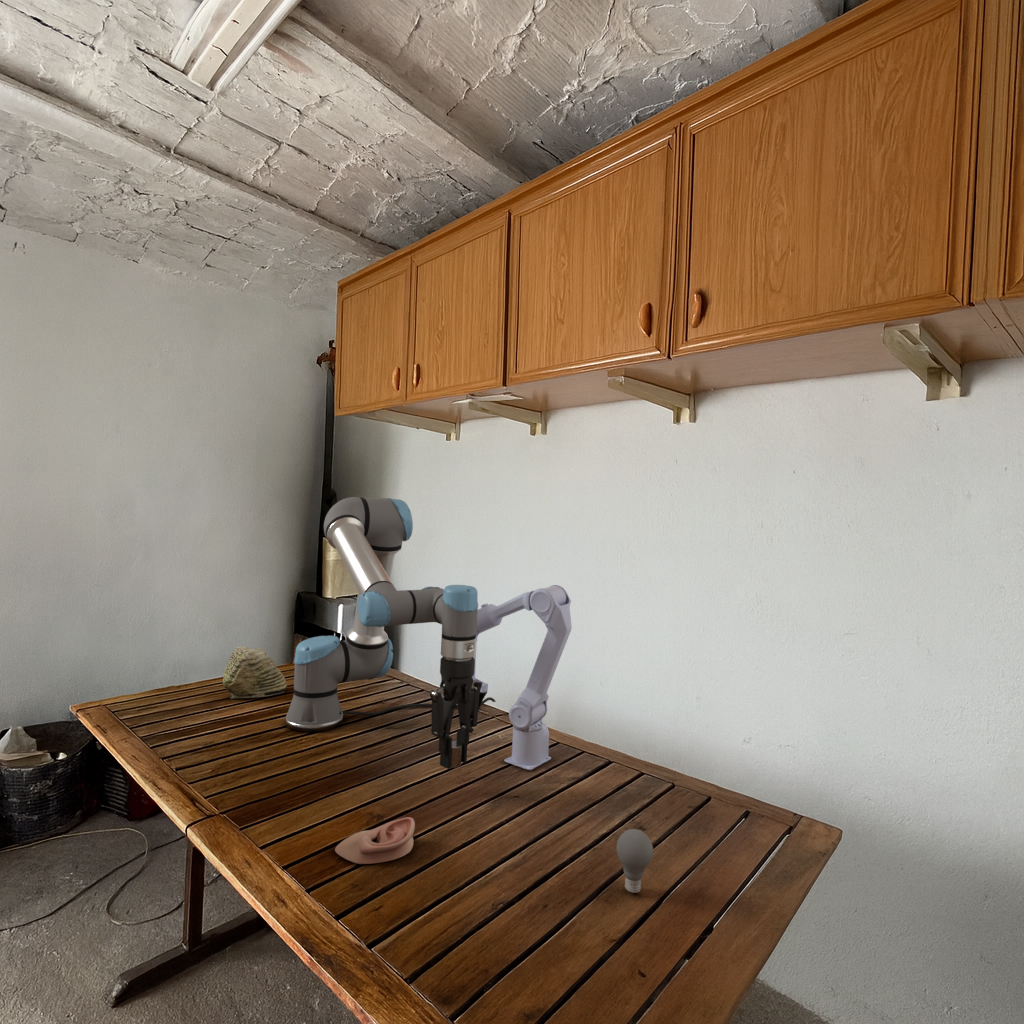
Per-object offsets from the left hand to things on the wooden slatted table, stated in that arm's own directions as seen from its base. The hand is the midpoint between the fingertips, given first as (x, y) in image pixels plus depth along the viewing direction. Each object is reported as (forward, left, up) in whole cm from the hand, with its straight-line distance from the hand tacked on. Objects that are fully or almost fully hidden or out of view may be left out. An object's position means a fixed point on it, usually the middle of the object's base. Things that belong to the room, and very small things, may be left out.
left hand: (453, 763), depth 138 cm
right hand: (-21, -17, +2) cm, 27 cm away
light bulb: (+5, +46, -6) cm, 47 cm away
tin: (0, 0, 0) cm, 0 cm away
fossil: (-4, -90, -6) cm, 90 cm away
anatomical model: (+25, +5, -6) cm, 27 cm away
